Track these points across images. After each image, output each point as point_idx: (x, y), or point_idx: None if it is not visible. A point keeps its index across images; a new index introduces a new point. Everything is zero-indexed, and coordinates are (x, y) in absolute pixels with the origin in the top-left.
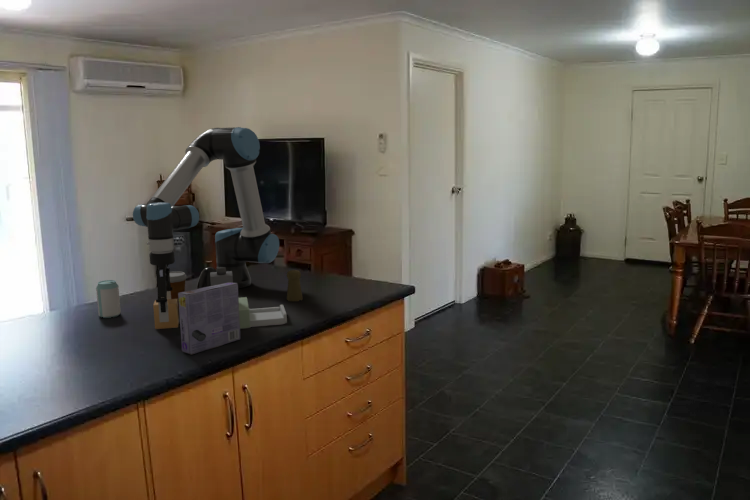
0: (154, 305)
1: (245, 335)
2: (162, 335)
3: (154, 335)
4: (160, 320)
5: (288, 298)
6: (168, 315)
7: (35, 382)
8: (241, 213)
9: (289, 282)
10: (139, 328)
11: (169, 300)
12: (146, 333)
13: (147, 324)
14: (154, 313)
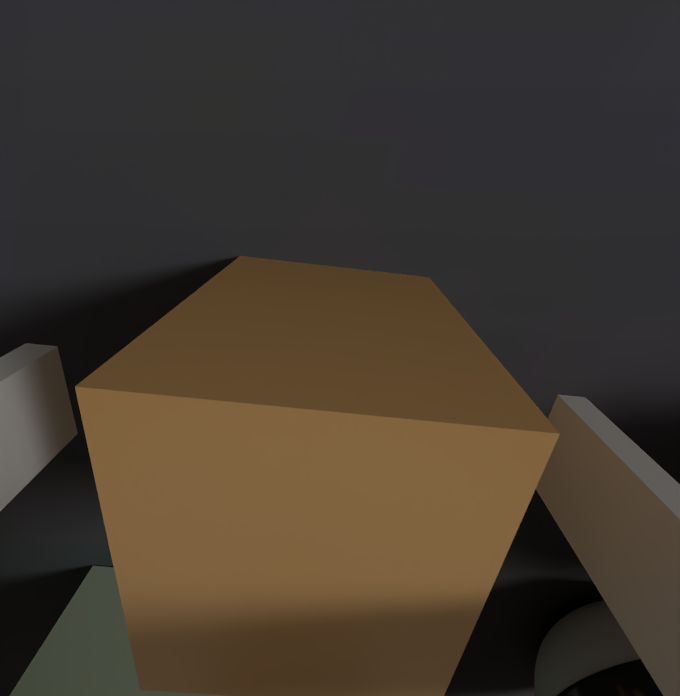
0: (84, 404)
1: (3, 688)
2: (21, 314)
3: (24, 243)
4: (11, 363)
5: None
6: (26, 482)
7: None
8: None
9: None
10: (322, 73)
11: (384, 636)
12: (102, 160)
13: (448, 177)
14: (173, 318)
